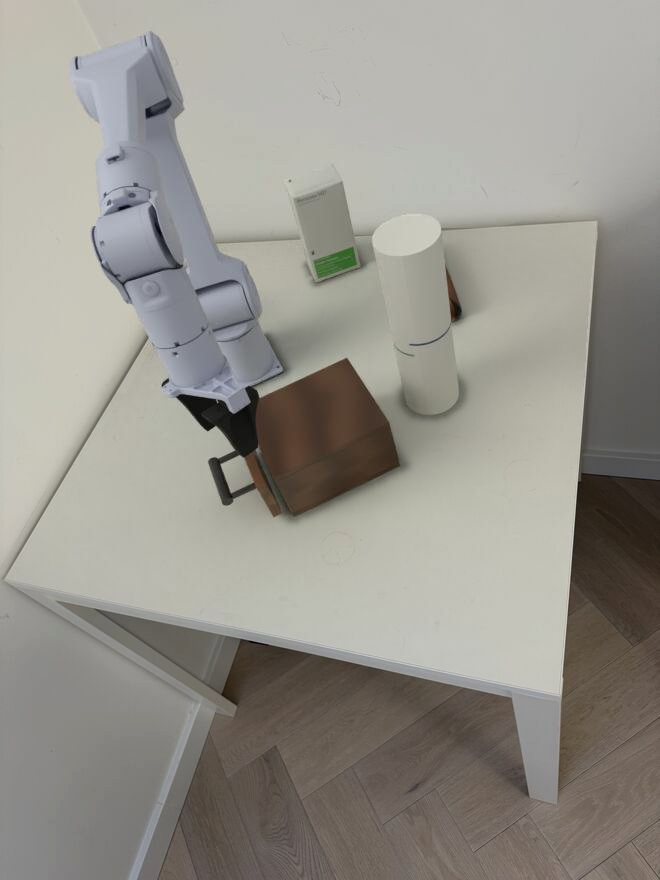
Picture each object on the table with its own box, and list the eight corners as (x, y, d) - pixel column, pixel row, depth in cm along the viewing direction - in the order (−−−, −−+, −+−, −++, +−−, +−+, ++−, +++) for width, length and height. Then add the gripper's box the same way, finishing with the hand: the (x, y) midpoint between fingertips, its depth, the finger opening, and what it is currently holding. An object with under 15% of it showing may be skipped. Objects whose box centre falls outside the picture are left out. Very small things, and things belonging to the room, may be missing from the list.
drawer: (238, 534, 77) (218, 504, 71) (215, 468, 84) (194, 437, 79) (373, 469, 78) (362, 436, 73) (338, 410, 85) (326, 375, 80)
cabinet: (293, 517, 77) (272, 477, 71) (263, 447, 85) (241, 406, 79) (400, 466, 78) (389, 422, 72) (360, 401, 86) (347, 357, 80)
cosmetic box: (315, 284, 105) (289, 199, 93) (306, 262, 109) (280, 179, 97) (363, 266, 105) (343, 180, 93) (352, 245, 109) (331, 160, 97)
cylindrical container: (456, 415, 81) (437, 253, 62) (401, 414, 83) (366, 258, 64) (460, 374, 85) (444, 210, 66) (408, 374, 87) (377, 216, 68)
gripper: (115, 334, 64) (170, 434, 72) (180, 376, 54) (235, 487, 62) (173, 300, 66) (220, 401, 75) (245, 335, 56) (290, 447, 65)
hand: (230, 438), depth 69 cm, fingers open, 7 cm apart
